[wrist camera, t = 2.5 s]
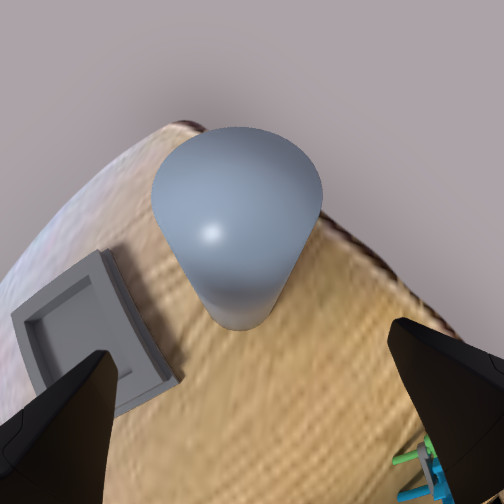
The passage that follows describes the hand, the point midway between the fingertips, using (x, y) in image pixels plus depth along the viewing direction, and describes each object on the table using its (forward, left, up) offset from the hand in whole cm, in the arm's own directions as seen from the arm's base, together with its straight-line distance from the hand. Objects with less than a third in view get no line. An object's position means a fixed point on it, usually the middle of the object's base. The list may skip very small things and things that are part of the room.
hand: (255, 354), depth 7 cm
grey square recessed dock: (+7, +11, -11) cm, 17 cm away
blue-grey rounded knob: (+4, -2, -11) cm, 12 cm away
